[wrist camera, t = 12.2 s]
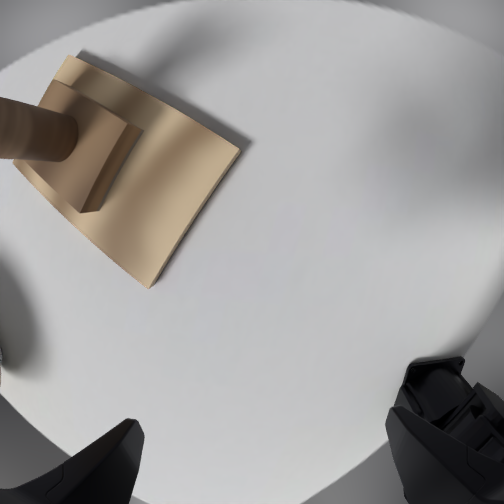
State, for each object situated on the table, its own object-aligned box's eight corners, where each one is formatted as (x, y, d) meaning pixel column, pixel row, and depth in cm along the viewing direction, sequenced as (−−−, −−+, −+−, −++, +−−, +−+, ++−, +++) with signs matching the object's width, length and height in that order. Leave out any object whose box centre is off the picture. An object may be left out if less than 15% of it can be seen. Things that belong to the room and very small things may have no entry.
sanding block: (144, 130, 18) (20, 83, 7) (99, 211, 20) (-30, 232, 8) (70, 86, 18) (-30, 48, 6) (35, 154, 19) (-69, 149, 8)
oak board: (241, 151, 19) (239, 148, 18) (153, 285, 21) (148, 289, 20) (74, 57, 18) (68, 54, 17) (19, 163, 21) (12, 163, 20)
